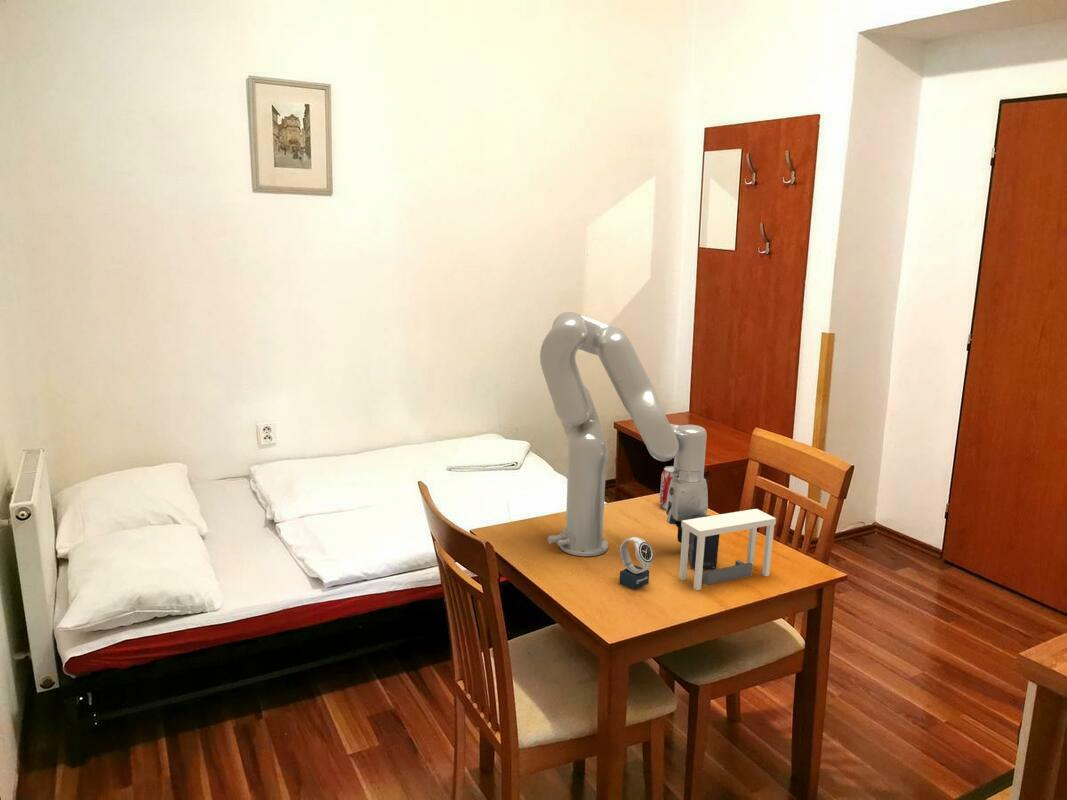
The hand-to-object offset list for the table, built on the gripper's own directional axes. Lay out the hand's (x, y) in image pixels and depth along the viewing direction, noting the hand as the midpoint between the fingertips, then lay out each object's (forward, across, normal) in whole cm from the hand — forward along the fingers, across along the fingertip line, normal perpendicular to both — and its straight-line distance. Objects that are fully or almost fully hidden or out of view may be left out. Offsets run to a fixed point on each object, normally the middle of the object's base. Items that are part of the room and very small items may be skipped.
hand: (683, 542), depth 206 cm
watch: (+2, -22, -12) cm, 25 cm away
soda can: (+2, +15, +27) cm, 31 cm away
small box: (+2, 0, -8) cm, 8 cm away
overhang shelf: (+2, 0, -17) cm, 17 cm away
